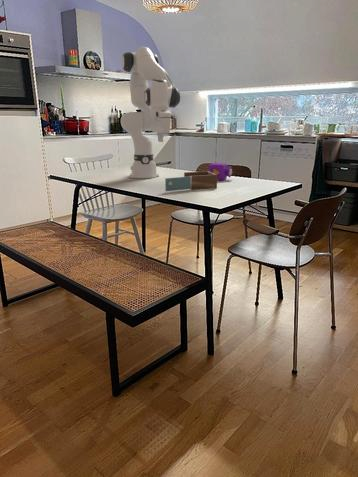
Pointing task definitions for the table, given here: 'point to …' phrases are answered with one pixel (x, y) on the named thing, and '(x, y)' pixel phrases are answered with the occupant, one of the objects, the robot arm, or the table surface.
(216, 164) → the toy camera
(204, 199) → the table surface
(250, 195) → the table surface
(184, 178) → the side door
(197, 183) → the storage case
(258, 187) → the table surface
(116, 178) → the table surface
